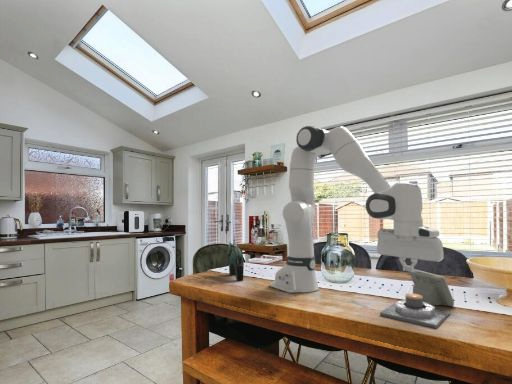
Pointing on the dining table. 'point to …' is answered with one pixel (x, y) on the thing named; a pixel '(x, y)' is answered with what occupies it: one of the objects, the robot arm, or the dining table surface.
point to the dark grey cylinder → (414, 301)
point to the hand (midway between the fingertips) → (408, 271)
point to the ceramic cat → (235, 261)
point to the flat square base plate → (416, 314)
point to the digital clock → (431, 288)
